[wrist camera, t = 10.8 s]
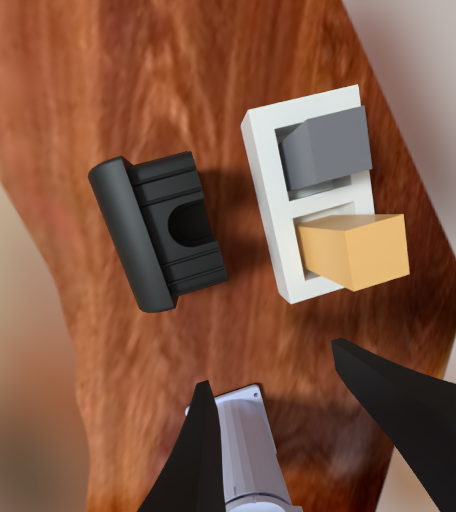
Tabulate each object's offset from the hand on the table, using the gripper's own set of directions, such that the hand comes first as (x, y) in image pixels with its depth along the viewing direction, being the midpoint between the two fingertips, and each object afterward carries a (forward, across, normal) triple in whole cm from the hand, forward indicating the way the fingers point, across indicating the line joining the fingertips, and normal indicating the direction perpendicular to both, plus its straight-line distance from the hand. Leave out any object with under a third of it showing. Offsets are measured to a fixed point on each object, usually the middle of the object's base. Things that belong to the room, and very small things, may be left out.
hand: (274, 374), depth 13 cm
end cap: (+11, +5, -8) cm, 15 cm away
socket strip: (+11, -8, -7) cm, 16 cm away
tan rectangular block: (+10, -8, -4) cm, 14 cm away
